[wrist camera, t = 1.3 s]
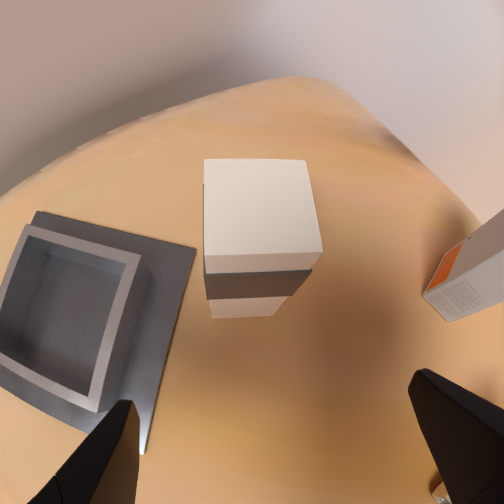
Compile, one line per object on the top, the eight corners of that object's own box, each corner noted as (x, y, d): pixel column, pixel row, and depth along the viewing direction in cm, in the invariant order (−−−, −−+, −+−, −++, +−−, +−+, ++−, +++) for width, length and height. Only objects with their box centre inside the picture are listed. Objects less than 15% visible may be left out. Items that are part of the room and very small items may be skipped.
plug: (274, 316, 23) (326, 254, 12) (210, 320, 22) (201, 258, 11) (268, 258, 25) (306, 158, 14) (208, 260, 24) (201, 157, 13)
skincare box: (442, 252, 27) (523, 189, 16) (468, 280, 26) (552, 228, 15) (418, 296, 25) (515, 240, 14) (447, 326, 24) (546, 283, 13)
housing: (145, 452, 18) (130, 466, 14) (-14, 374, 17) (-43, 369, 14) (195, 252, 24) (191, 227, 20) (39, 213, 24) (20, 190, 20)
